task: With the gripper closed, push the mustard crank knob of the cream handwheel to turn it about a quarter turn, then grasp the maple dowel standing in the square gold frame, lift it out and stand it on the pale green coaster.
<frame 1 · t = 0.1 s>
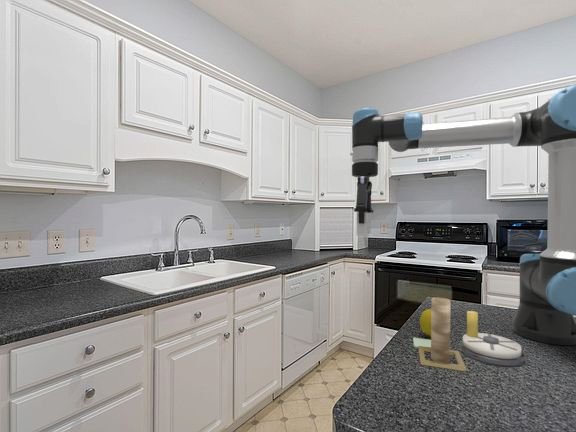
hand: (364, 234, 94), 28 cm above the countertop, fingers open, 13 cm apart
handwheel: (491, 332, 77), point 5 cm above the countertop, hinge at 0.0°
lemon: (430, 338, 88), on the countertop
coaster: (425, 344, 82), on the countertop
wheel base: (490, 354, 77), on the countertop
square gold frame: (440, 359, 74), on the countertop
dowel: (440, 359, 74), resting in square gold frame
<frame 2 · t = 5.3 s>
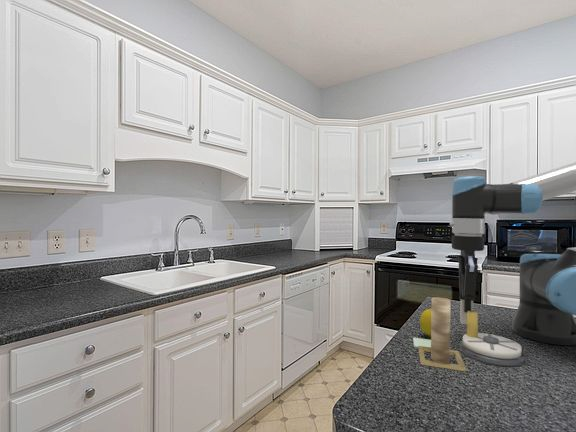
hand: (466, 323, 84), 5 cm above the countertop, fingers closed
handwheel: (491, 332, 77), point 5 cm above the countertop, hinge at 0.1°, touching gripper
everything else where it was.
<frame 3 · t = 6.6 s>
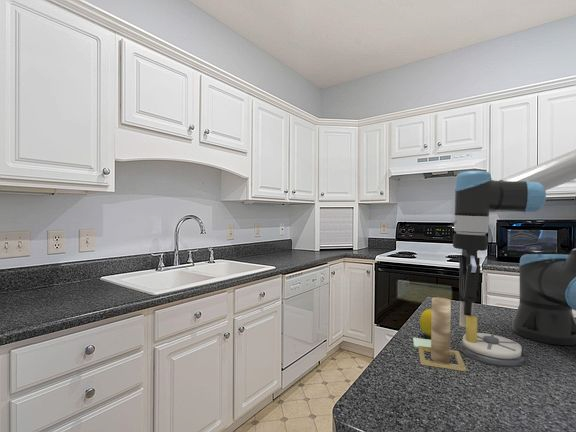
hand: (465, 326, 80), 6 cm above the countertop, fingers closed
handwheel: (491, 332, 77), point 5 cm above the countertop, hinge at 52.7°, touching gripper
everything else where it was.
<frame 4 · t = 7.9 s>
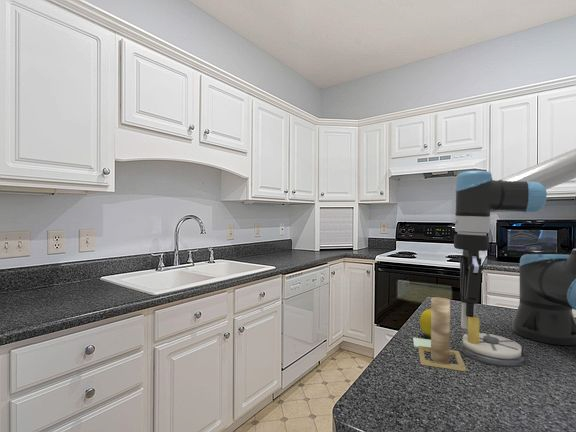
hand: (467, 328, 79), 6 cm above the countertop, fingers closed
handwheel: (491, 332, 77), point 5 cm above the countertop, hinge at 64.6°, touching gripper
everything else where it was.
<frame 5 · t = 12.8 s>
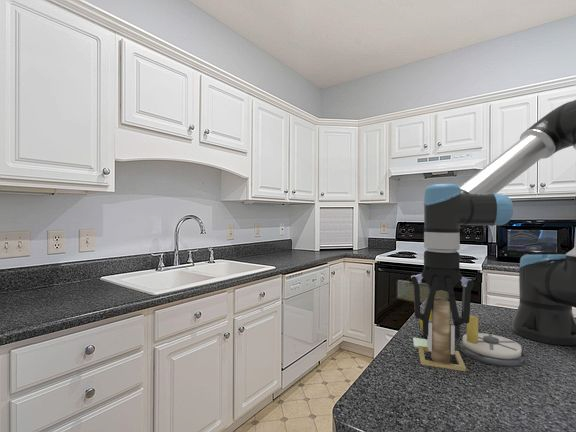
hand: (440, 350, 74), 2 cm above the countertop, fingers closed on dowel, 4 cm apart
handwheel: (491, 332, 77), point 5 cm above the countertop, hinge at 58.3°
dowel: (440, 359, 74), resting in square gold frame, touching gripper
everything else where it was.
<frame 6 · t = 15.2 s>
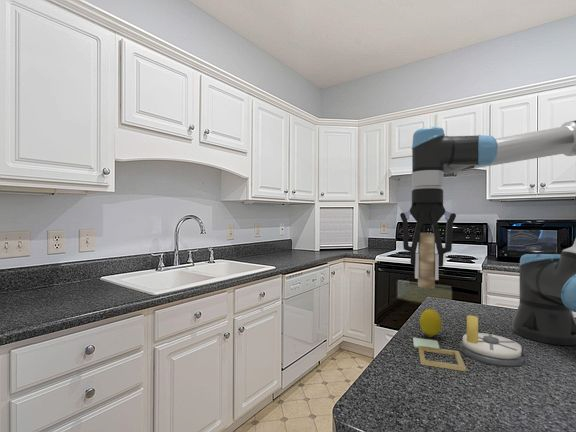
hand: (426, 278, 82), 17 cm above the countertop, fingers closed on dowel, 4 cm apart
dowel: (426, 286, 82), point 15 cm above the countertop, touching gripper
everything else where it was.
when the fingers open (4 cm above the countertop, at t = 17.7 s): dowel drops 1 cm, resting on coaster.
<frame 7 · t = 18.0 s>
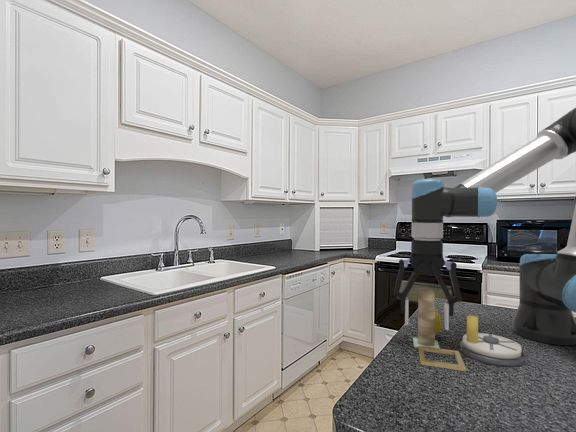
hand: (426, 325, 82), 5 cm above the countertop, fingers open, 9 cm apart
dowel: (426, 343, 82), resting on coaster
everything else where it was.
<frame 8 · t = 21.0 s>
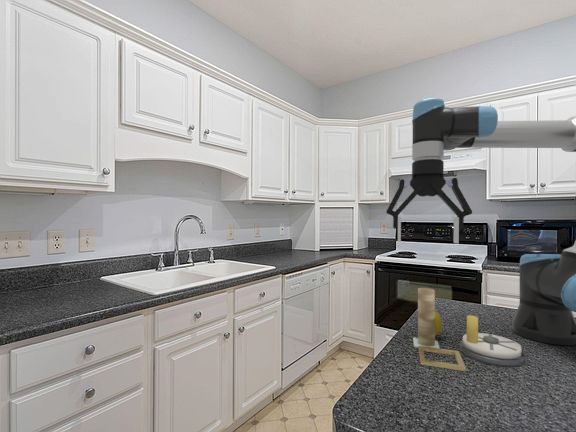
hand: (426, 242, 82), 27 cm above the countertop, fingers open, 13 cm apart
nothing on the countertop moved.
at the end: handwheel at +58° (first picture: +0°); dowel inside the target area on the coaster (0.1 cm from its centre), point 0.4 cm above the coaster's base; dowel tilted 1° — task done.
